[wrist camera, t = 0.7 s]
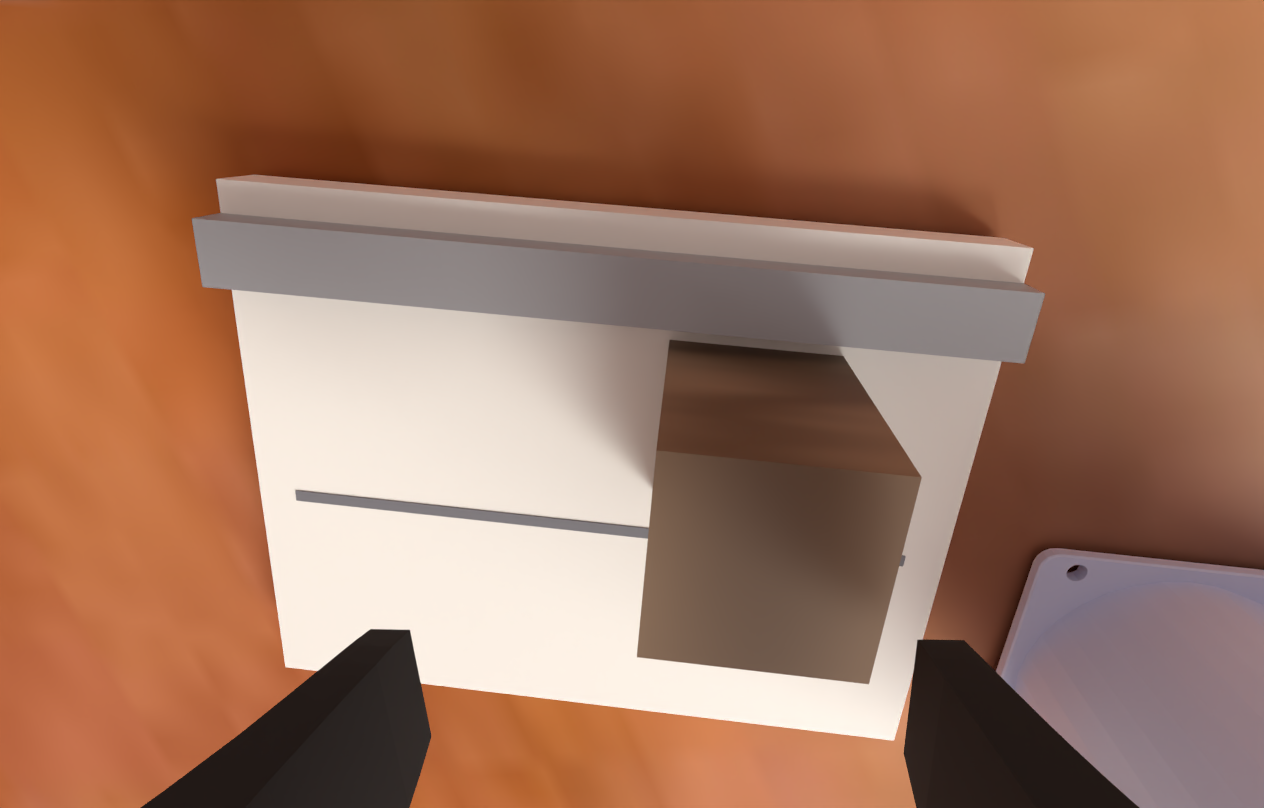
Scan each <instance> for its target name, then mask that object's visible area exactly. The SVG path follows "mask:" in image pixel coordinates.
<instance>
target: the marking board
mask: <svg viewBox="0 0 1264 808" xmlns="http://www.w3.org/2000/svg"><path fill="white" fill-rule="evenodd" d="M216 184H217V191H218V198H219V205H220V212H221V213H218V214H213V215H207V216H202V217H196V218H192V224H193V230H194V236H195V243H196V249H197V255H198V262H199V268H200V274H201V281H202V287H208V288H219V289H230V290H232V296H233V303H234V310H235V317H236V324H237V331H238V338H239V345H240V352H241V359H242V366H243V373H244V380H245V387H246V394H247V401H248V408H249V415H250V422H251V429H252V436H253V443H254V450H255V457H256V464H257V471H258V478H259V485H260V492H261V499H262V506H263V513H264V520H265V527H266V534H267V541H268V548H269V555H270V562H271V569H272V576H273V583H274V590H275V597H276V604H277V611H278V618H279V625H280V632H281V639H282V646H283V653H284V660H285V667H290V668H298V669H306V670H314V671H318V670H320V669H321V668H322V667H323V666H324V665H326V664H327V663H328V662H329V661H331V660H332V659H333V658H334V657H335V656H337V655H338V654H339V653H340V652H342V651H343V650H344V649H345V648H347V647H348V646H349V645H350V644H352V643H353V642H354V641H355V640H357V639H358V638H359V637H361V636H362V635H363V634H365V633H366V632H367V631H369V630H370V629H395V630H410V633H411V638H412V643H413V648H414V653H415V658H416V662H417V667H418V672H419V677H420V682H421V683H422V684H430V685H438V686H447V687H455V688H463V689H472V690H480V691H488V692H496V693H505V694H513V695H521V696H530V697H538V698H546V699H554V700H563V701H571V702H579V703H587V704H596V705H604V706H612V707H621V708H629V709H637V710H645V711H654V712H662V713H670V714H678V715H687V716H695V717H703V718H712V719H720V720H728V721H736V722H745V723H753V724H761V725H770V726H778V727H786V728H794V729H803V730H811V731H819V732H827V733H836V734H844V735H852V736H861V737H869V738H877V739H885V740H894V738H895V735H896V731H897V728H898V724H899V721H900V717H901V714H902V710H903V707H904V703H905V700H906V696H907V693H908V689H909V686H910V682H911V679H912V675H913V672H914V664H915V655H916V647H917V640H923V636H924V633H925V629H926V626H927V622H928V619H929V615H930V612H931V608H932V605H933V601H934V598H935V594H936V591H937V587H938V584H939V580H940V577H941V573H942V570H943V566H944V563H945V559H946V556H947V552H948V548H949V545H950V541H951V538H952V534H953V531H954V527H955V524H956V520H957V517H958V513H959V510H960V506H961V503H962V499H963V496H964V492H965V489H966V485H967V482H968V478H969V475H970V471H971V468H972V464H973V461H974V457H975V453H976V450H977V446H978V443H979V439H980V436H981V432H982V429H983V425H984V422H985V418H986V415H987V411H988V408H989V404H990V401H991V397H992V394H993V390H994V387H995V383H996V380H997V376H998V373H999V369H1000V366H1001V362H1002V361H1003V362H1013V363H1024V364H1025V360H1026V357H1027V353H1028V350H1029V347H1030V343H1031V340H1032V337H1033V333H1034V330H1035V327H1036V323H1037V320H1038V316H1039V313H1040V310H1041V306H1042V303H1043V300H1044V296H1045V293H1043V292H1041V291H1039V290H1037V289H1035V288H1033V287H1030V286H1028V285H1026V284H1024V281H1025V278H1026V274H1027V271H1028V267H1029V263H1030V260H1031V256H1032V253H1033V249H1034V248H1031V247H1029V246H1026V245H1023V244H1020V243H1018V242H1015V241H1012V240H1009V239H1006V238H1000V237H988V236H976V235H964V234H952V233H940V232H929V231H917V230H905V229H893V228H881V227H869V226H858V225H846V224H834V223H822V222H810V221H798V220H787V219H775V218H763V217H751V216H739V215H727V214H716V213H704V212H692V211H680V210H668V209H656V208H644V207H633V206H621V205H609V204H597V203H585V202H573V201H562V200H550V199H538V198H526V197H514V196H502V195H491V194H479V193H467V192H455V191H443V190H431V189H420V188H408V187H396V186H384V185H372V184H360V183H348V182H337V181H325V180H313V179H301V178H289V177H277V176H266V175H246V176H237V177H228V178H219V179H216ZM669 340H679V341H689V342H700V343H710V344H721V345H732V346H742V347H753V348H764V349H774V350H785V351H796V352H806V353H817V354H828V355H838V356H844V358H845V359H846V361H847V362H848V364H849V366H850V367H851V369H852V370H853V372H854V373H855V375H856V376H857V378H858V379H859V381H860V383H861V384H862V386H863V387H864V389H865V390H866V392H867V393H868V395H869V396H870V398H871V400H872V401H873V403H874V404H875V406H876V407H877V409H878V410H879V412H880V413H881V415H882V417H883V418H884V420H885V421H886V423H887V424H888V426H889V427H890V429H891V431H892V432H893V434H894V435H895V437H896V438H897V440H898V441H899V443H900V444H901V446H902V448H903V449H904V451H905V452H906V454H907V455H908V457H909V458H910V460H911V461H912V463H913V465H914V466H915V468H916V469H917V471H918V472H919V474H920V475H921V477H922V479H921V483H920V487H919V491H918V494H917V498H916V502H915V506H914V510H913V514H912V518H911V522H910V526H909V530H908V534H907V537H906V541H905V545H904V549H903V553H902V557H901V561H900V565H899V569H898V573H897V576H896V580H895V584H894V588H893V592H892V596H891V600H890V604H889V608H888V612H887V616H886V619H885V623H884V627H883V631H882V635H881V639H880V643H879V647H878V651H877V655H876V659H875V662H874V666H873V670H872V674H871V678H870V682H869V684H861V683H853V682H844V681H836V680H827V679H819V678H810V677H801V676H793V675H784V674H776V673H767V672H759V671H750V670H742V669H733V668H725V667H716V666H708V665H699V664H690V663H682V662H673V661H665V660H656V659H648V658H639V657H637V648H638V637H639V627H640V616H641V606H642V595H643V585H644V574H645V564H646V553H647V543H648V532H649V521H650V511H651V500H652V490H653V479H654V469H655V458H656V448H657V440H658V431H659V423H660V415H661V406H662V398H663V390H664V381H665V373H666V364H667V356H668V348H669Z"/></svg>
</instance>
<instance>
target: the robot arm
mask: <svg viewBox="0 0 1264 808" xmlns="http://www.w3.org/2000/svg"><path fill="white" fill-rule="evenodd" d="M1074 565H1080V566H1079V567H1078V569H1077V570H1075V571H1073V572H1069V573H1067V571H1068V570H1069V568H1070V567H1072V566H1074ZM430 739H431V732H430V727H429V722H428V717H427V712H426V707H425V702H424V697H423V692H422V687H421V682H420V677H419V672H418V667H417V662H416V658H415V653H414V648H413V643H412V638H411V633H410V630H395V629H370V630H369V631H367V632H366V633H365V634H363V635H362V636H361V637H359V638H358V639H357V640H355V641H354V642H353V643H352V644H350V645H349V646H348V647H347V648H345V649H344V650H343V651H342V652H340V653H339V654H338V655H337V656H335V657H334V658H333V659H332V660H331V661H329V662H328V663H327V664H326V665H324V666H323V667H322V668H321V669H320V670H318V671H317V672H316V673H315V674H314V675H312V676H311V677H310V678H309V679H307V680H306V681H305V682H304V683H303V684H301V685H300V686H299V687H298V688H296V689H295V690H294V691H293V692H292V693H290V694H289V695H288V696H287V697H285V698H284V699H283V700H282V701H280V702H279V703H278V704H277V705H275V706H274V707H273V708H272V709H270V710H269V711H268V712H267V713H265V714H264V715H263V716H262V717H261V718H259V719H258V720H257V721H256V722H254V723H253V724H252V725H251V726H249V727H248V728H247V729H246V730H244V731H243V732H242V733H241V734H239V735H238V736H237V737H235V738H234V739H233V740H231V741H230V742H229V743H227V744H226V745H225V746H223V747H222V748H221V749H219V750H218V751H217V752H215V753H214V754H213V755H211V756H210V757H209V758H207V759H206V760H205V761H203V762H202V763H201V764H199V765H198V766H197V767H195V768H194V769H193V770H191V771H190V772H189V773H187V774H186V775H185V776H183V777H182V778H181V779H179V780H178V781H177V782H175V783H174V784H173V785H171V786H170V787H169V788H167V789H166V790H165V791H163V792H162V793H161V794H159V795H158V796H156V797H155V798H154V799H152V800H151V801H149V802H148V803H147V804H145V805H144V806H142V807H141V808H409V807H410V804H411V801H412V798H413V794H414V791H415V788H416V785H417V782H418V779H419V776H420V773H421V769H422V766H423V763H424V759H425V756H426V753H427V749H428V746H429V742H430ZM904 756H905V760H906V764H907V769H908V773H909V778H910V782H911V786H912V791H913V795H914V799H915V803H916V807H917V808H1264V570H1260V569H1250V568H1241V567H1231V566H1222V565H1213V564H1203V563H1194V562H1184V561H1175V560H1165V559H1156V558H1146V557H1137V556H1128V555H1118V554H1109V553H1099V552H1090V551H1080V550H1071V549H1062V548H1050V549H1047V550H1044V551H1042V552H1041V553H1040V554H1038V555H1037V556H1036V558H1035V559H1034V561H1033V564H1032V567H1031V569H1030V572H1029V575H1028V578H1027V581H1026V584H1025V587H1024V590H1023V593H1022V596H1021V599H1020V602H1019V605H1018V608H1017V611H1016V614H1015V617H1014V619H1013V622H1012V625H1011V628H1010V631H1009V634H1008V637H1007V640H1006V643H1005V646H1004V649H1003V652H1002V655H1001V658H1000V661H999V664H998V666H997V669H996V671H995V670H994V669H993V668H992V667H991V666H990V665H988V664H987V663H986V662H985V661H984V660H983V659H982V658H981V657H980V656H979V655H978V654H977V653H976V652H975V651H974V650H973V649H972V648H971V647H970V646H969V645H968V644H967V643H966V642H965V641H964V640H917V647H916V655H915V664H914V672H913V680H912V689H911V697H910V705H909V714H908V722H907V730H906V738H905V747H904Z"/></svg>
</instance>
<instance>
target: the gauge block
mask: <svg viewBox="0 0 1264 808" xmlns="http://www.w3.org/2000/svg"><path fill="white" fill-rule="evenodd" d="M921 479H922V477H921V475H920V474H919V472H918V471H917V469H916V468H915V466H914V465H913V463H912V461H911V460H910V458H909V457H908V455H907V454H906V452H905V451H904V449H903V448H902V446H901V444H900V443H899V441H898V440H897V438H896V437H895V435H894V434H893V432H892V431H891V429H890V427H889V426H888V424H887V423H886V421H885V420H884V418H883V417H882V415H881V413H880V412H879V410H878V409H877V407H876V406H875V404H874V403H873V401H872V400H871V398H870V396H869V395H868V393H867V392H866V390H865V389H864V387H863V386H862V384H861V383H860V381H859V379H858V378H857V376H856V375H855V373H854V372H853V370H852V369H851V367H850V366H849V364H848V362H847V361H846V359H845V358H844V356H838V355H828V354H817V353H806V352H796V351H785V350H774V349H764V348H753V347H742V346H732V345H721V344H710V343H700V342H689V341H679V340H669V348H668V356H667V364H666V373H665V381H664V390H663V398H662V406H661V415H660V423H659V431H658V440H657V448H656V458H655V469H654V479H653V490H652V500H651V511H650V521H649V532H648V543H647V553H646V564H645V574H644V585H643V595H642V606H641V616H640V627H639V637H638V648H637V657H639V658H648V659H656V660H665V661H673V662H682V663H690V664H699V665H708V666H716V667H725V668H733V669H742V670H750V671H759V672H767V673H776V674H784V675H793V676H801V677H810V678H819V679H827V680H836V681H844V682H853V683H861V684H869V682H870V678H871V674H872V670H873V666H874V662H875V659H876V655H877V651H878V647H879V643H880V639H881V635H882V631H883V627H884V623H885V619H886V616H887V612H888V608H889V604H890V600H891V596H892V592H893V588H894V584H895V580H896V576H897V573H898V569H899V565H900V561H901V557H902V553H903V549H904V545H905V541H906V537H907V534H908V530H909V526H910V522H911V518H912V514H913V510H914V506H915V502H916V498H917V494H918V491H919V487H920V483H921Z"/></svg>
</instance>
